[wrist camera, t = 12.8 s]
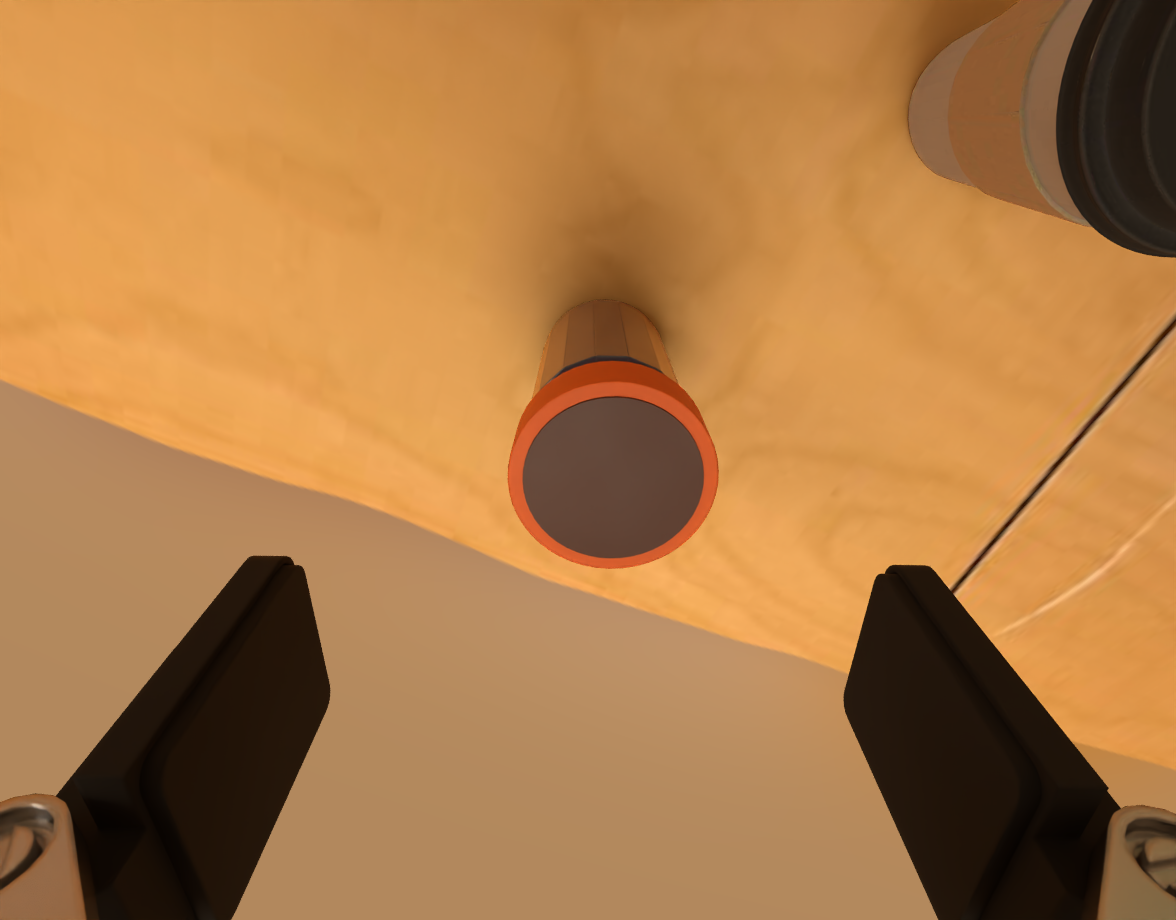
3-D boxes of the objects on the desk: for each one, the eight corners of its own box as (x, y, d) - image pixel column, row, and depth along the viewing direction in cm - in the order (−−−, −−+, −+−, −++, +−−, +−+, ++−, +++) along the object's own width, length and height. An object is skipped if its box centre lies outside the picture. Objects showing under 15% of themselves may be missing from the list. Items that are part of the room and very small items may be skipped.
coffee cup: (971, 256, 31) (1266, 334, 18) (821, 143, 29) (1025, 133, 15) (1133, 62, 28) (1656, -26, 14) (977, -82, 26) (1415, -349, 12)
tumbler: (543, 297, 32) (525, 354, 23) (667, 300, 32) (698, 357, 23) (544, 413, 35) (529, 504, 26) (658, 415, 35) (683, 507, 26)
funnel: (529, 310, 28) (503, 379, 20) (687, 314, 28) (731, 384, 20) (531, 454, 31) (510, 568, 23) (674, 457, 31) (707, 572, 23)
